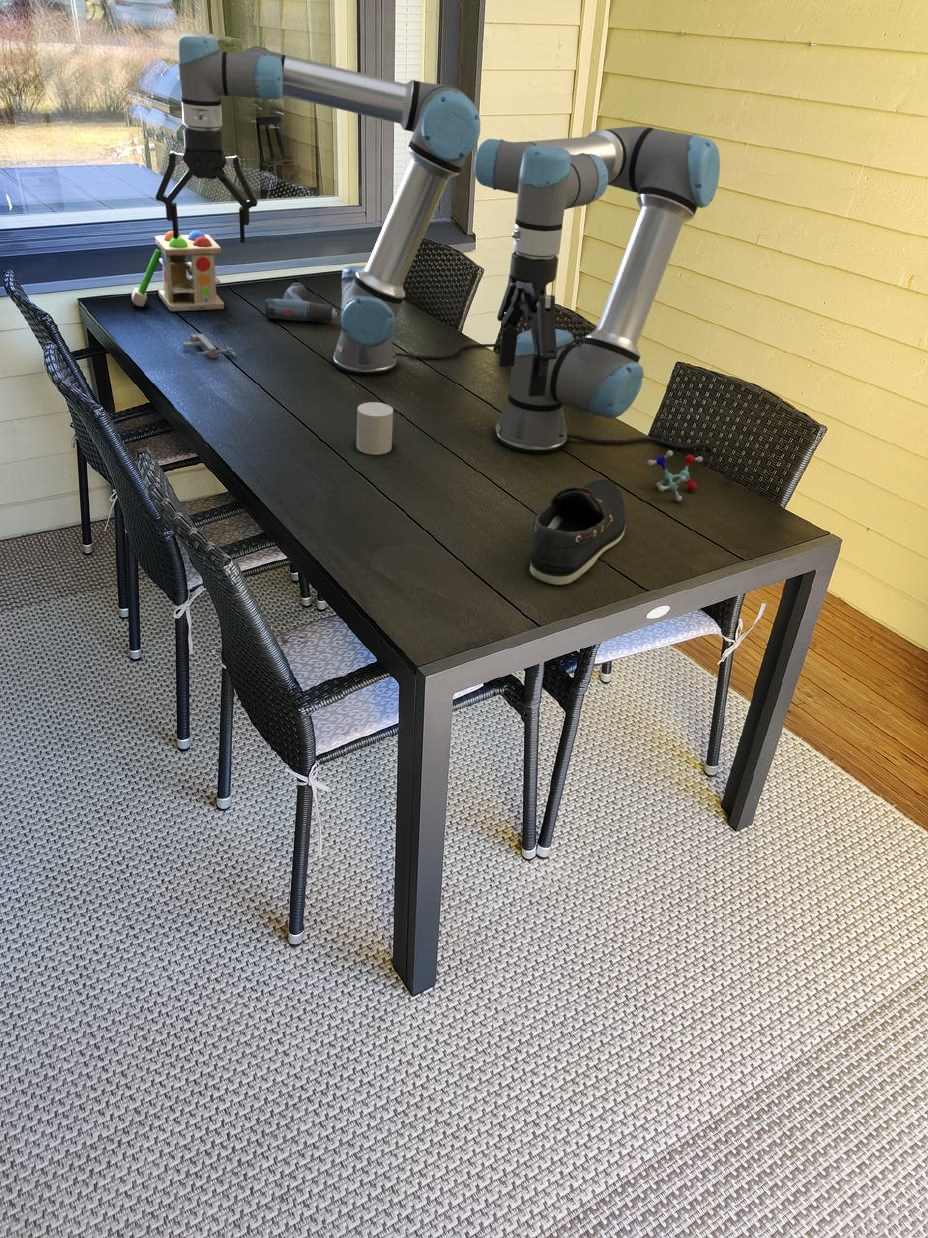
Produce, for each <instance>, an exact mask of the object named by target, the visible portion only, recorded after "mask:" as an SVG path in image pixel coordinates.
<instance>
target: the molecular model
mask: <svg viewBox="0 0 928 1238" xmlns="http://www.w3.org/2000/svg"><path fill="white" fill-rule="evenodd" d="M673 455H674V452H673V450H667V451H666V454H664V456H658V457H657V458H656V459H655V460H652V459H648V460H647V462H646V464H647V466H649V467H652V466H654V465H656V464H657V465H658V466H661V468H662V470H663V472H664V475H663V479H662V480H661V481H658V482H657V483H656V485H655V486H656V488H657V490H658V491H659V492H662V493H663V492H664V491H665V490H669V491H671V492H673V493H674V495H675V502H678V503H680V502H681V501H682V500H683V497H682V496H681V495H680V494H679V492H678V489H679V485H680V484H681V483H684V482H685V483H686V484H687V487H688V490H689V491H695V490H696V489H697V484H696V483H695V482H693V481H692V479H691V477H690V472H689V471H688V470H689V467H690V464H692V463H693V462H697V463H702V462H703V461H704V458H703V457H702V456H697V457H694V456H693V455H691V454H688V455H686V456H685V462H686V464H685V466H684V469H683V470H681V471H680V472H679V473H678V474H673V473H671V472H669V471H668V469H667V467H666V460H667V459H668V458H670V457H673ZM677 478H678V480H677V481H673V480H674V479H677ZM665 483H668V485H665V486H664V484H665Z"/></svg>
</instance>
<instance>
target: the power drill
mask: <svg viewBox="0 0 928 1238" xmlns="http://www.w3.org/2000/svg"><path fill="white" fill-rule="evenodd" d="M307 295H308V290H307V287H306V285H304V284H303V283H301V282H293V283H292V284H291V285H290V286H289V287H288V288H287V289H286V291H285V292H284V294H283V297H282V298H266V299H265V302H264V313H265V314H264V316H265V318H267V319H274V320H275V319H276V320H283V321H294V322H295V321H297V322H332V321H333V320H334V319H336V318H337V317H338V312H337V311H336V308H334V307H333V306H332V305H331V304H324V303H317V302H313V301H307V300H305V299H306V297H307Z"/></svg>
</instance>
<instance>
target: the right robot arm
mask: <svg viewBox="0 0 928 1238" xmlns="http://www.w3.org/2000/svg"><path fill="white" fill-rule="evenodd" d="M473 172H474V176H475V179H476V181H477V182H478V183H479V184H480V185H481V186H484V187H487V188H490V189H492V190H493V191H497V190H498V191H502V192H507V193H511V194H516V195H517V200H516V213H515V214H516V215H515V221H514V231H512V232H511V238H512V239H513V241H512V249H513V250H514V252H513V253H511V259H510V266H509V267H510V268H509V274H508V279H507V285H506V288H505V291H504V295H503V298H502V301H501V304H500V306H499V310H498V313H497V315H496V317H497V321H498V322H500V327H501V338H500V343H501V346H499V357H498V368H507V367H510V368H511V369H510V376H509V385H508V386H509V387H508V396H507V400H506V401H507V402H506V404H505V405H504V409H503V410H502V413H501V415H500V417H499V419H498V421H497V422H496V425H495V428H494V429H495V433H494V437H495V440H496V441H497V442H498V443H499V444H501V446H504V447H506V448H508V449H510V450H512V451H516V452H520V453H526V454H533V455H544V454H552V453H556V452H559V451H560V450H562V449H564V448H565V447H566V445H567V440H568V438H570V439H574V440H579V441H582V442H583V441H584V442H587V443H593V444H602V445H626V444H632V443H639V442H650V443H656V444H659V445H663V446H666V447H669V448H674V449H678V450H690V449H691V450H692V449H695V448H703V447H702V446H703V444H702V443H703V442H696V443H690V444H677V443H673V442H670V441H666V440H663V439H660V438H655V437H649V436H648V437H646V436H641V437H634V438H633V437H632V438H627V439H602V438H592V437H587V436H583V435H580V434H574V433H570V432H568V431H567V424H566V419H565V413H564V405H566V406H569V407H572V408H574V409H578V410H580V411H584V412H586V413H590V414H591V415H593V416H599V417H603V418H606V419H616V418H618V417H620V416H622V415H624V413H626V412H627V411H628V410H629V409H630V408H631V406H632V405H633V403H634V402H635V400H636V398H637V396H638V394H639V393H640V390H641V388H642V386H643V379H644V369H643V366H642V365H641V364H640V363H639V362H640V359H641V353H640V351H639V349H638V343H639V340H640V338H641V334H642V332H643V330H644V327H645V324H646V322H647V319H648V316H649V314H650V311H651V308H652V306H653V302H654V301H655V298H656V295H657V293H658V290H659V288H660V285H661V282H662V279H663V277H664V274H665V271H666V269H667V266H668V264H669V261H670V258H671V256H672V253H673V252H674V251H673V250H674V248H675V245H676V243H677V240H678V238H679V235H680V232H681V230H682V227H683V225H684V224H687V223H688V222H690V221H692V220H693V219H694V218H695V215H696V213H697V210H698V209H699V208H700V209H703V208H706V207H708V206H709V205H710V204H711V202H712V201H713V200H714V198H715V195H716V192H717V189H718V185H719V180H720V172H721V155H720V151H719V148H718V146H717V144H716V142H715V141H714V140H712V139H710V138H706V137H702V136H698V135H697V134H688V133H682V132H676V131H671V130H666V129H659V128H653V127H649V126H643V125H641V126H640V125H637V126H623V127H622V126H621V127H614V128H607V129H605V128H604V129H597V130H594V131H591V132H590V133H589V134H587V135H586V136H580V137H579V136H578V137H566V138H554V139H553V138H552V139H541V140H539V139H538V140H529V141H528V140H527V141H507V140H504V139H501V138H499V139H496V138H488V139H486V140H484V141H483V142H482V143H481V144H480V145H479V147H478V148H477V151H476V153H475V157H474V165H473ZM608 186H610V187H614V188H618V189H621V190H624V191H628V192H632V193H636V194H637V195H636V202H637V205H638V207H639V213H638V215H637V218H636V221H635V223H634V226H633V229H632V231H631V234H630V237H629V240H628V242H627V245H626V248H625V250H624V252H623V255H622V259H621V261H620V264H619V265H618V266H619V267H618V269H617V272H616V274H615V277H614V280H613V283H612V285H611V288H610V291H609V293H608V297H607V299H606V302H605V304H604V306H603V309H602V313H601V314H600V316H599V317H600V318H599V320H598V323H597V326H596V328H595V330H594V331H592V332H591V333H589V334H586V335H585V336H584V338H583V341H582V344H581V345H578V344H577V345H576V344H574V341H575V340H574V335H573V334H572V333H571V332H570V331H568V330H565V329H559V328H556V316H555V305H556V296H555V295H554V294H551V295H550V294H549V295H547V285H549V284H550V283H553V282H554V281H556V278H557V270H558V263H559V258H558V257H557V255H559V253H560V249H561V242H562V235H563V223H564V217H565V210H569V209H572V208H577V207H584V206H588V205H589V204H591V203H594V202H595V201H598V200H599V199H600V198H601V197H602V196H603V195H604V194H605V192H606V191H607V187H608ZM524 315H525V318H526V320H527V321H528V322H529V326H530V329H529V330H525V331H523V332H520V333H519V328H520V324H519V323H520V320H521V319H522V317H523V316H524ZM517 328H518V329H517ZM704 449H707V450H708V451H709V452H714V451H715V450H714V448H713V447H712V446H711V447H704Z"/></svg>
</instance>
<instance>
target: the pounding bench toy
mask: <svg viewBox="0 0 928 1238" xmlns="http://www.w3.org/2000/svg"><path fill="white" fill-rule="evenodd" d="M154 240H155V242H154V243H156V246H158V247H159V249H158V248H156V249H155V250H154V252H153V255H152V257H151V259H150V261H149V264H148V266H147V269H146V271H145V273H144V276H143V277H142V280H141V283H140V285H139V287H136V286H135V287H134V289H133V291H132V293H131V301H132V303H133V304H134V305H135V306H137V307H141V308H143V307H144V306H145V304H146V303H147V299H148V295H147V291H148V287H149V285H150V282H151V280H152V277H153V275H154V273H155V270H156V268H157V265H158V263H160V265H162V279H163V289H159V290H158V297H159V299H161V301H162V302H163V303H164V305H165V306H166V307H167V308H168V310H169V311H170V312H186V311H205V310H206V311H207V310H208V311H209V310H224V309H225V304H224V301H223V300H222V299H221V298H220V297H219V296H218V294H217V285H218V284H221V280H220V279H219V278H218V277H217V276H216V263H215V260H216V259H215V255H221V254H222V248H221V246H220V245H219V244H218V243H217V241H215V239H213V238H212V237H211V235H210V234H204V232H202V231H201V230H192V231H191V232H190V233H189V234H180V233H179V236H178V239H174V237H173V230H169V231H167V232H166V233H165V235H155V236H154ZM186 256H190V260H191V261H188V262H187V260H186V259H187V258H186ZM187 273H188V275H189V277H188V275H187Z"/></svg>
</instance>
